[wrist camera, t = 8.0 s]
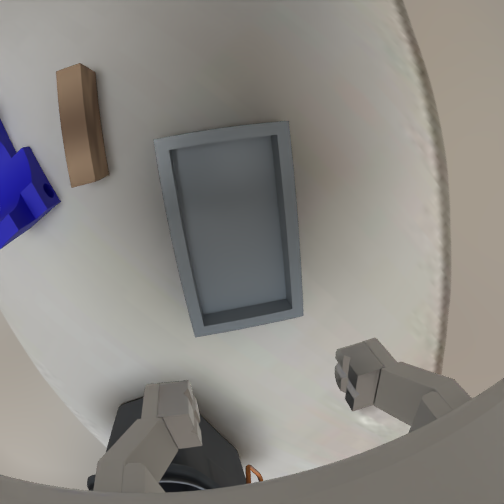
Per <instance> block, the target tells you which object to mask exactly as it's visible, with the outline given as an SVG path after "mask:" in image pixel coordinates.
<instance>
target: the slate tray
mask: <svg viewBox="0 0 504 504" xmlns="http://www.w3.org/2000/svg"><path fill="white" fill-rule="evenodd" d="M154 146H155V153H156V159H157V165H158V171H159V177H160V182H161V188H162V194H163V199H164V204H165V209H166V215H167V220H168V225H169V229H170V234H171V239H172V244H173V248H174V253H175V257H176V262H177V266H178V271H179V275H180V279H181V283H182V288H183V292H184V296H185V300H186V304H187V308H188V312H189V316H190V319H191V323H192V327H193V331H194V334H195V337H200V336H206V335H212V334H217V333H223V332H228V331H234V330H239V329H244V328H249V327H254V326H259V325H264V324H269V323H273V322H278V321H283V320H287V319H292V318H296V317H301V316H303V294H302V275H301V258H300V242H299V228H298V215H297V202H296V190H295V179H294V168H293V158H292V148H291V138H290V129H289V121H280V122H268V123H258V124H249V125H240V126H232V127H225V128H217V129H211V130H204V131H198V132H192V133H186V134H180V135H175V136H169V137H164V138H159V139H154Z"/></svg>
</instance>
